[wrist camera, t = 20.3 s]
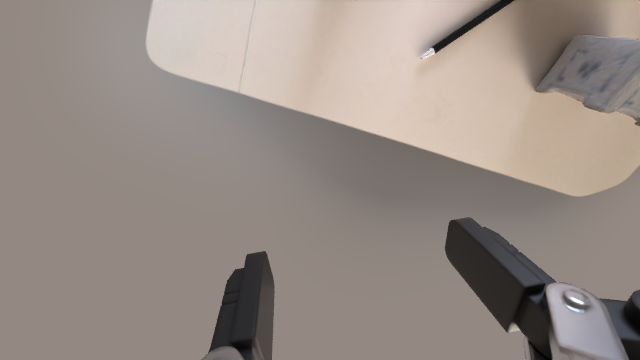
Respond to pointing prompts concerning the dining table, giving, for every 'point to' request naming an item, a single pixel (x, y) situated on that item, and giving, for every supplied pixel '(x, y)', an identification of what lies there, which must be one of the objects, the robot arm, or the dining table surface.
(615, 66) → the incense holder
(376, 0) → the dining table surface
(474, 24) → the pen
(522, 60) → the dining table surface
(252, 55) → the dining table surface
